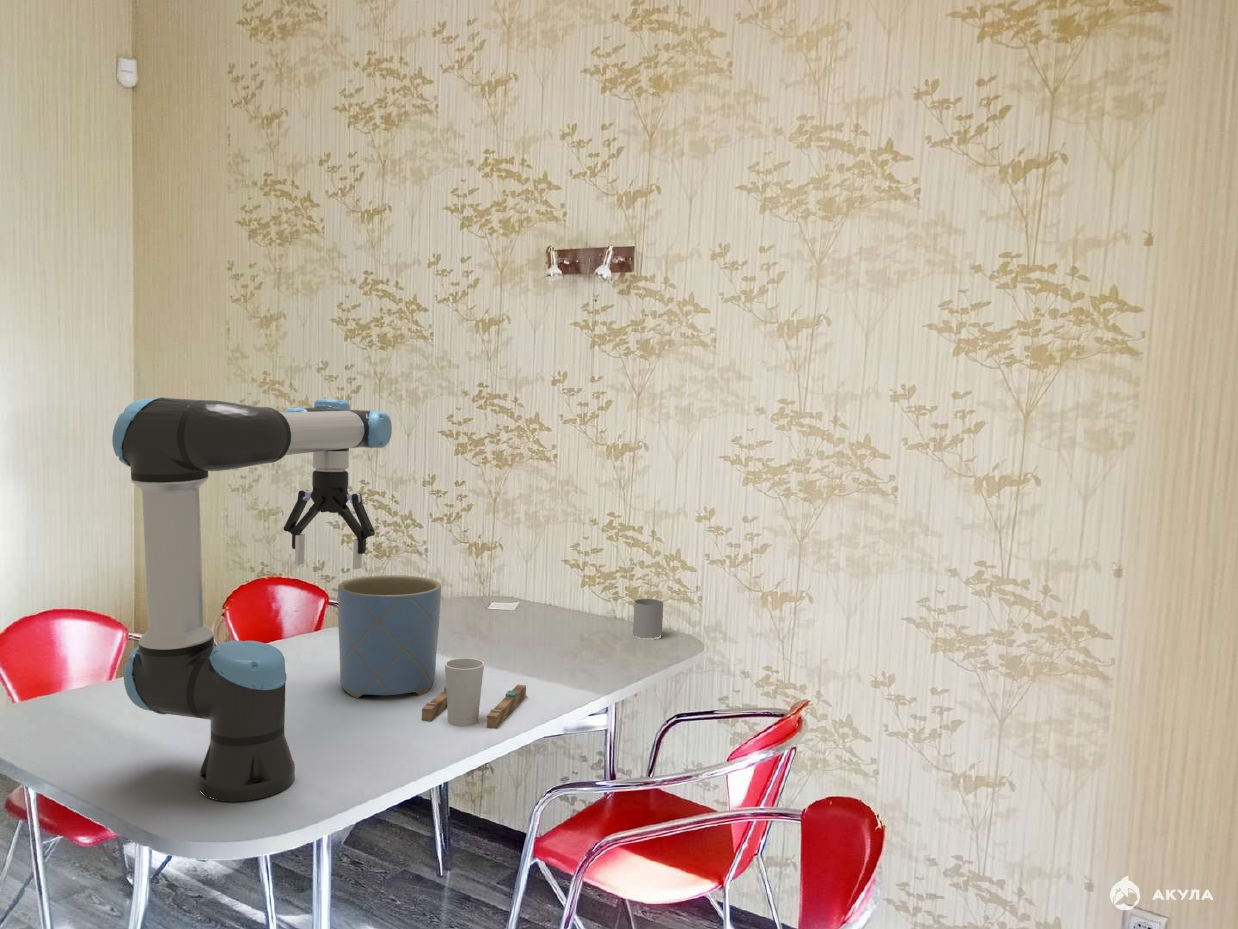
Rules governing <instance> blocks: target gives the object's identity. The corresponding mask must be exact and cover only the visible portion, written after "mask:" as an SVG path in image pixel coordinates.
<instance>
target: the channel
mask: <svg viewBox="0 0 1238 929" xmlns="http://www.w3.org/2000/svg"><path fill="white" fill-rule="evenodd" d="M526 696H527V685H525V684H516V686H514V688H512V690H507V691H506V693H505V696H504V698H502V700H501V701H500V702H499V703H497V705H496V706H495V707H494V708H491V709H490V712H489V713H488V714H487V716H486V728H487V729H497V728H498V727H499V726H500V725H501V724H502V723H503V722H504V721H505V720H506V718H508V716H509V715H511V713H512V712H514V710H515V708H517V707H518V705H519V704H520V703H521V702H522V701H523V700H524V699H525V698H526ZM446 709H447V691H446V686H445V687H443V691H442V692H441V693H440V694H438V695H437V696H435V697H434V698H433V699H431V701H430V702H425V705H424V706H423V707H422V708H421V721H424V722H432V721H433V720H434V719H435V718H437V717H438V716H439V715H440V714H441V713H442V712H443V711H445V710H446Z"/></svg>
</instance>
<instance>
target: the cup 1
mask: <svg viewBox="0 0 1238 929" xmlns="http://www.w3.org/2000/svg"><path fill="white" fill-rule="evenodd" d="M484 669H485V662H484V661H483V660H480V659H477V658H474V657H473V658H471V657H461V658H459V657H458V658H452V659H449V660H447V661H445V663H444V673H445V687H446V691H447V708H446V709H447V723H448V724H450V725H453V726H458V727H467V726H472V725H475V724H477V723H479V714H480V705H481V697H482V696H481V694H482V685H483V678H484Z"/></svg>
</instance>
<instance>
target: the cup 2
mask: <svg viewBox="0 0 1238 929" xmlns="http://www.w3.org/2000/svg"><path fill="white" fill-rule="evenodd" d="M633 604H634V605H633V624H632V625H633V626H632V628H633V629H632V636H633V635H634V636H637V637H640V638H655V637H659V636H660V635H662V636H663V617H664V616H663V615H664V601H662V600H659V599H655V598H654V599H653V598H641V599H636V600H634V602H633Z"/></svg>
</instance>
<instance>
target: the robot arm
mask: <svg viewBox="0 0 1238 929" xmlns="http://www.w3.org/2000/svg"><path fill="white" fill-rule="evenodd" d="M350 406H351V405H350V402H349V401H348V400H345V399H328V398H327V399H326V398H318V399H316V400H315V401H314V404H313V407H304V406H303V407H301V406H295V407H289V408H287V409H285V410H284V411H282V412H281V411H280V410H279V409H277V408H274V407H270V406H263V407H262V406H253V405H246V404H240V403H234V402H229V401H221V400H211V399H208V400H206V399H205V400H203V399H190V398H189V399H188V398H187V399H186V398H172V397H170V398H169V397H161V396H159V397H148V398H147V397H146V398H141V399H140V398H139V399H137V400H135V401H133V402H132V403H130V404H128V405H127V406H126V407H125V409H124V411H123V412H121V413H120V414H119V416H118V417H117V419H116V422H115V423H114V427H113V432H112V437H111V438H112V440H111V441H112V442H111V443H112V447H113V453H114V454H115V456H116V457H118V460H119V461H120V463H122V464H124V465H126V467H130V478H131V480H130V481H131V482H132V483H133V484H134V485H135V486H136V487H138V488H139V489H140V490H141V494H142V518H143V519H142V520H143V536H144V537H143V539H144V540H143V543H144V562H145V563H144V564H145V565H144V566H145V581H146V582H145V586H146V605H147V607H146V608H147V609H146V610H147V611H146V612H147V626H148V627H147V628H148V629H146V631H145V632H144V634H142V636H140V637H139V639H138V646H137V647H135V648H134V649H133V650H132V651H131V653H130V654H129V656H128V661H129V662H127V663H126V664H125V666H124V670H123V683H124V684H123V685H124V689H125V692H126V694H127V697H128V698H129V700H130V701H131V702H132V703H133V704H134V705H135V706H137V707H138V708H139V709H142V710H145V711H150V712H153V713H155V714H158V715H172V716H179V717H187V718H188V717H189V718H193V719H194V718H196V719H203V720H208V721H210V740H209V745H208V747H207V751H206V754H205V757H204V759H203V762H202V765H201V767H200V770H199V773H198V792H199V791H201V792H202V793H203V794H204V795H205V796H207V797H211V798H214V799H217V800H216V801H219V800H224V801H223V802H246V801H254V800H259V799H263V798H267V797H270V796H274V795H277V794H279V793H281V792H283V791H285V790H286V789H287V788H289V787H290V786H291V785H292V784H293V783H294V781H295V776H296V775H295V774H296V773H295V772H296V767H295V761H294V760H293V757H292V752H291V751H290V747H289V745H288V742H287V738H286V735H285V727H286V726H285V722H286V721H285V720H286V717H285V716H286V715H285V714H286V713H285V712H286V682H287V679H288V678H287V671H286V660H285V657H284V654H283V653H282V651H281V650H280V649H279V648H277V647H275V646H274V645H271V644H269V643H265V642H261V641H256V640H245V641H243V640H239V639H238V640H230V641H229V640H228V641H224V642H221V643H218V644H216V645H215V633H214V632H215V631H213V630H212V629H211V628H210V627H208V625H206V624H205V621H204V620H205V619H204V618H205V617H204V615H205V614H204V592H203V588H204V586H203V565H202V560H203V559H202V541H201V540H202V536H201V535H202V533H201V510H200V507H201V506H200V487H201V486H202V485H203V484H204V483H205V482H206V481H207V480H208V479H209V472H220V471H221V472H222V471H228V470H229V471H230V470H235V469H242V468H248V467H255V466H259V465H265V464H272V463H276V462H279V461H280V460H282V459H283V458H284V457H286V456H291V455H300V454H308V453H312V468H313V469H315V470H313V471H312V477H311V478H312V480H311V481H312V482H311V486H312V491H309V490H308V489H305V490H302V489H301V490H299V491H298V492H297V500H296V502H295V504H294V506H293V509H292V510H291V512H290V515H288V517H287V518H288V519H287V520H286V522H285V524H284V526H283V531H284V532H288V533H290V534H291V549H292V550H294V554H295V555H294V565H295V566H300V565H302V564H305V548H306V544H305V542H306V541H305V540H306V538H305V537H306V534H305V533H303V532H304V531H305V529H306V528H307V526H308V525H309V524H310V523H311V522H312V521H313V519H315V518H316V516H317V515H318V514H319V513H330V514H335V513H337V514H338V515H339V516H340V517H341V518H342V519H343V521H344V522H345V523H346V525H347V526H348V528H349V529H350V531H351V532H352V533H353V534H354V535H355V536H356V538H354V539H353V547H352V548H353V554H352V556H353V557H352V570H358V569H363V568H362V567H363V566H362V565H363V555H364V554H366V551H367V539H368V538H371V537H373V536H374V535H375V534H376V532H375V529H374V527H373V525H372V523H371V520H370V518H369V516H368V513H367V510H366V509H365V506H364V504H363V495H362V493H361V492H357V493H351V494H350V493H349V491H348V488H349V472H348V471H347V469H349V464H350V463H349V462H350V461H349V460H350V449H358V448H369V449H374V448H376V449H377V448H378V449H379V448H385V447H386V446H387V445H388V444H389V443H390V440H391V438H392V434H393V429H392V428H393V424H392V420H391V418H390V416H389V415H388V413H386V412H384V411H377V410H374V409H372V410H366V409H364V410H363V409H350V408H351V407H350ZM310 499H311V500H312V502H313V504H312V505H311V506H310V507H309V508H308V510H307V512H306V513H305V514H304V516H302V513H303V512H304V510H305V508H306V505H307V503H308V501H309V500H310ZM348 501H349V503H351V504H352V507H353V510H354V513H355V514H356V515H355V516H356V517H357V518H356V517H355V516H354V515H353V513H352V512H351V509H350V507H349V506H348V504H347V503H348ZM301 516H302V518H301ZM300 518H301V519H300ZM357 519H358V520H357ZM205 796H204V797H205ZM207 797H206V798H207ZM214 799H213V800H214Z"/></svg>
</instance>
